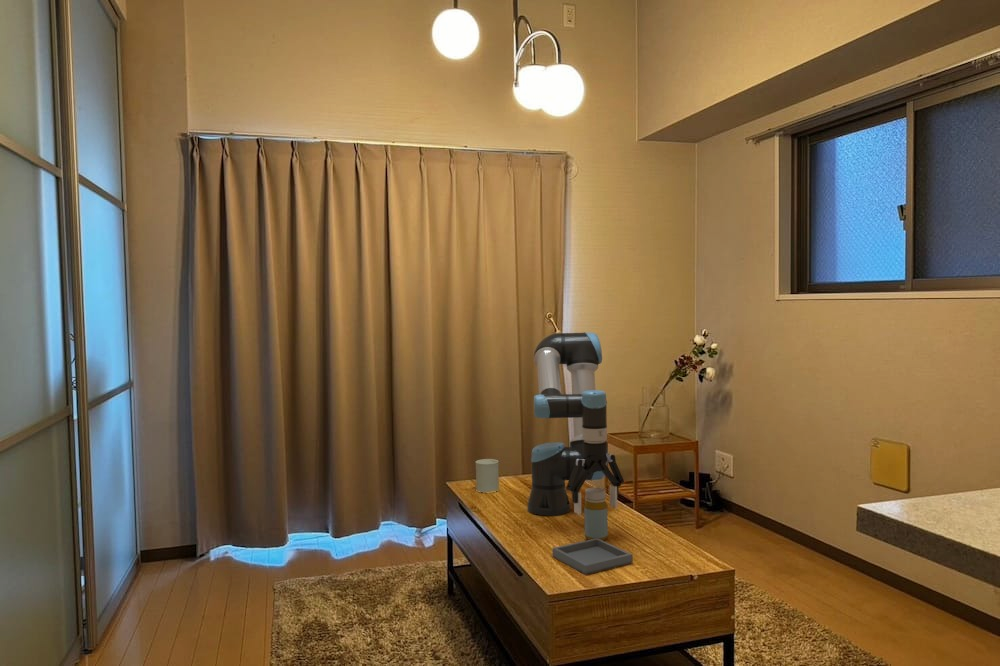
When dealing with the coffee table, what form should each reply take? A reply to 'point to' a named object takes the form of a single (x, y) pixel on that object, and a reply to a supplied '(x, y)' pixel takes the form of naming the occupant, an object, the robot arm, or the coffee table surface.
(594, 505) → the bottle
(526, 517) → the coffee table surface
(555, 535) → the coffee table surface
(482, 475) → the can
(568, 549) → the tray
